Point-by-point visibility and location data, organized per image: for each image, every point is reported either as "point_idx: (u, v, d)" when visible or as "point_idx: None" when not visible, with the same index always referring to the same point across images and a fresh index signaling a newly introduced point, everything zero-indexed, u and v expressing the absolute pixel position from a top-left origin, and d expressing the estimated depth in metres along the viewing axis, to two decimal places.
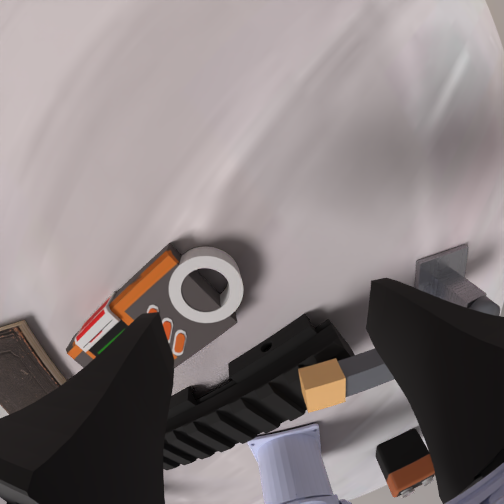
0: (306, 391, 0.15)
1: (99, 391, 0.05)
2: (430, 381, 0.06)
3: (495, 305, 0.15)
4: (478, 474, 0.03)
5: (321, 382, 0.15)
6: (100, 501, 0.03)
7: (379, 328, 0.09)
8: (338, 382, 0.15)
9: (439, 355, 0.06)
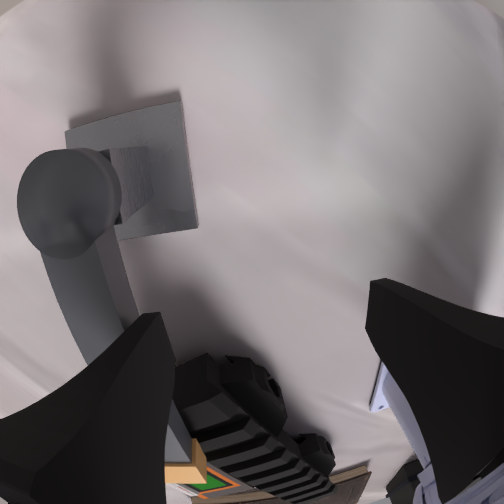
0: (167, 482, 0.11)
1: (101, 391, 0.05)
2: (429, 381, 0.06)
3: (18, 199, 0.06)
4: (477, 475, 0.03)
5: None
6: (102, 502, 0.03)
7: (378, 328, 0.09)
8: None
9: (438, 355, 0.06)
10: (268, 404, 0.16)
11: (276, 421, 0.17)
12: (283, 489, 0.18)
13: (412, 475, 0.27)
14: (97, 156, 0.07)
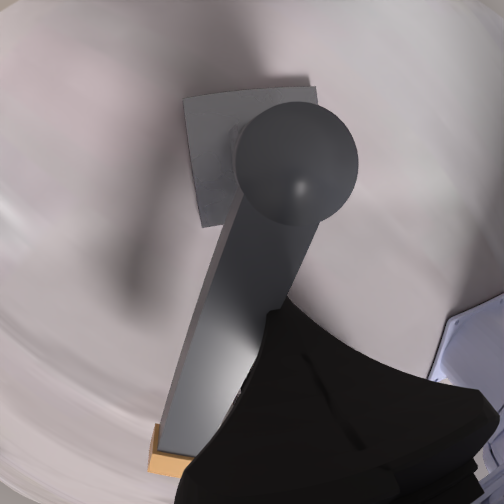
0: (150, 472, 0.10)
1: (309, 373, 0.05)
2: None
3: (253, 122, 0.06)
4: None
5: (149, 460, 0.10)
6: None
7: None
8: (156, 457, 0.10)
9: None
10: None
11: None
12: None
13: None
14: None
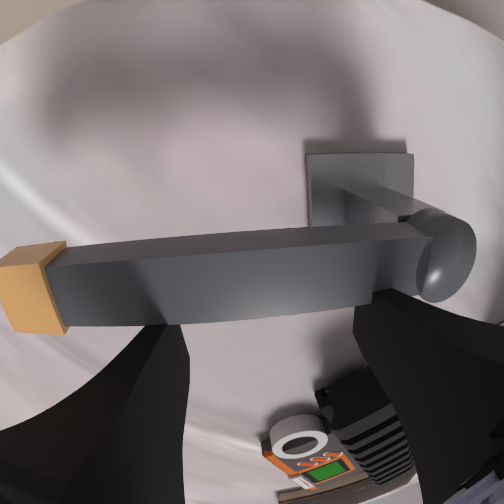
0: None
1: (124, 392, 0.05)
2: (413, 388, 0.06)
3: (464, 223, 0.08)
4: (461, 485, 0.03)
5: (11, 263, 0.06)
6: None
7: (364, 332, 0.09)
8: (30, 271, 0.06)
9: (422, 362, 0.06)
10: None
11: None
12: (383, 470, 0.21)
13: None
14: None
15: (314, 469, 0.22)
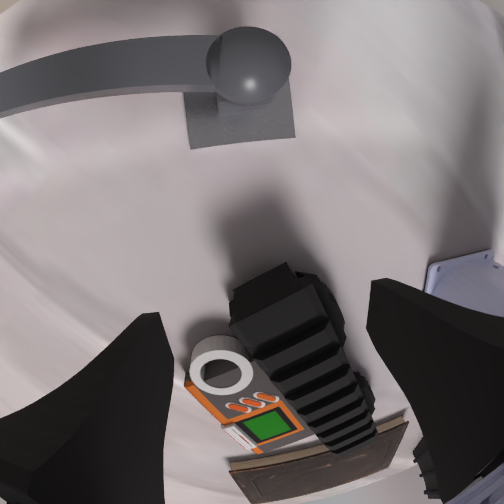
0: None
1: (99, 391, 0.05)
2: (430, 381, 0.06)
3: (265, 31, 0.08)
4: (478, 474, 0.03)
5: None
6: (100, 501, 0.03)
7: (379, 328, 0.09)
8: None
9: (439, 355, 0.06)
10: (334, 318, 0.19)
11: None
12: (333, 430, 0.21)
13: None
14: (270, 96, 0.10)
15: (250, 419, 0.22)
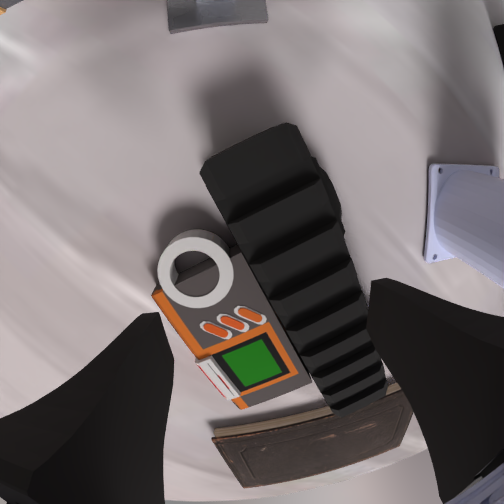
0: None
1: (99, 391, 0.05)
2: (430, 381, 0.06)
3: None
4: (478, 474, 0.03)
5: None
6: (100, 501, 0.03)
7: (379, 328, 0.09)
8: None
9: (439, 355, 0.06)
10: (328, 200, 0.16)
11: None
12: (333, 368, 0.18)
13: None
14: None
15: (230, 350, 0.19)
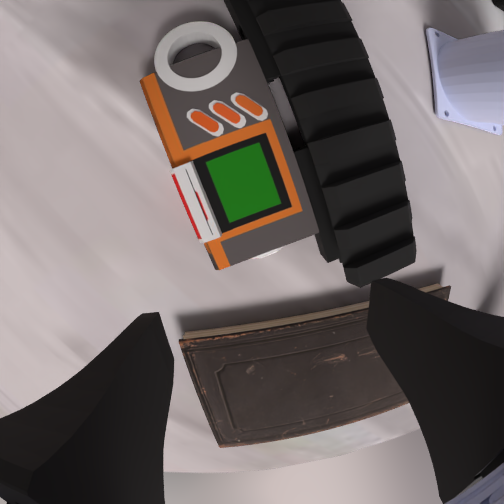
0: None
1: (99, 391, 0.05)
2: (430, 381, 0.06)
3: None
4: (478, 474, 0.03)
5: None
6: (100, 501, 0.03)
7: (379, 328, 0.09)
8: None
9: (439, 355, 0.06)
10: None
11: None
12: (351, 179, 0.14)
13: None
14: None
15: (218, 155, 0.15)
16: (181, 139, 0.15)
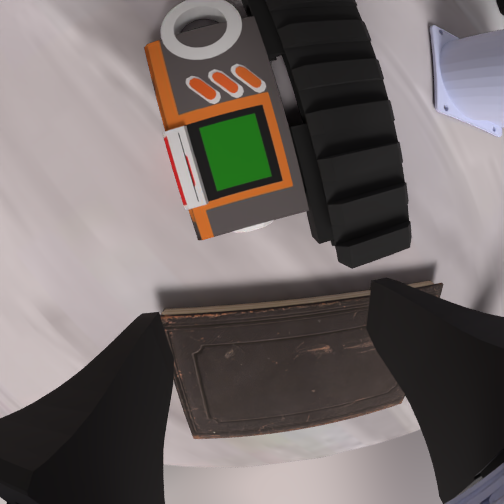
0: None
1: (99, 391, 0.05)
2: (430, 381, 0.06)
3: None
4: (478, 474, 0.03)
5: None
6: (100, 501, 0.03)
7: (379, 328, 0.09)
8: None
9: (439, 355, 0.06)
10: None
11: None
12: (347, 153, 0.13)
13: None
14: None
15: (212, 122, 0.14)
16: (177, 104, 0.14)
